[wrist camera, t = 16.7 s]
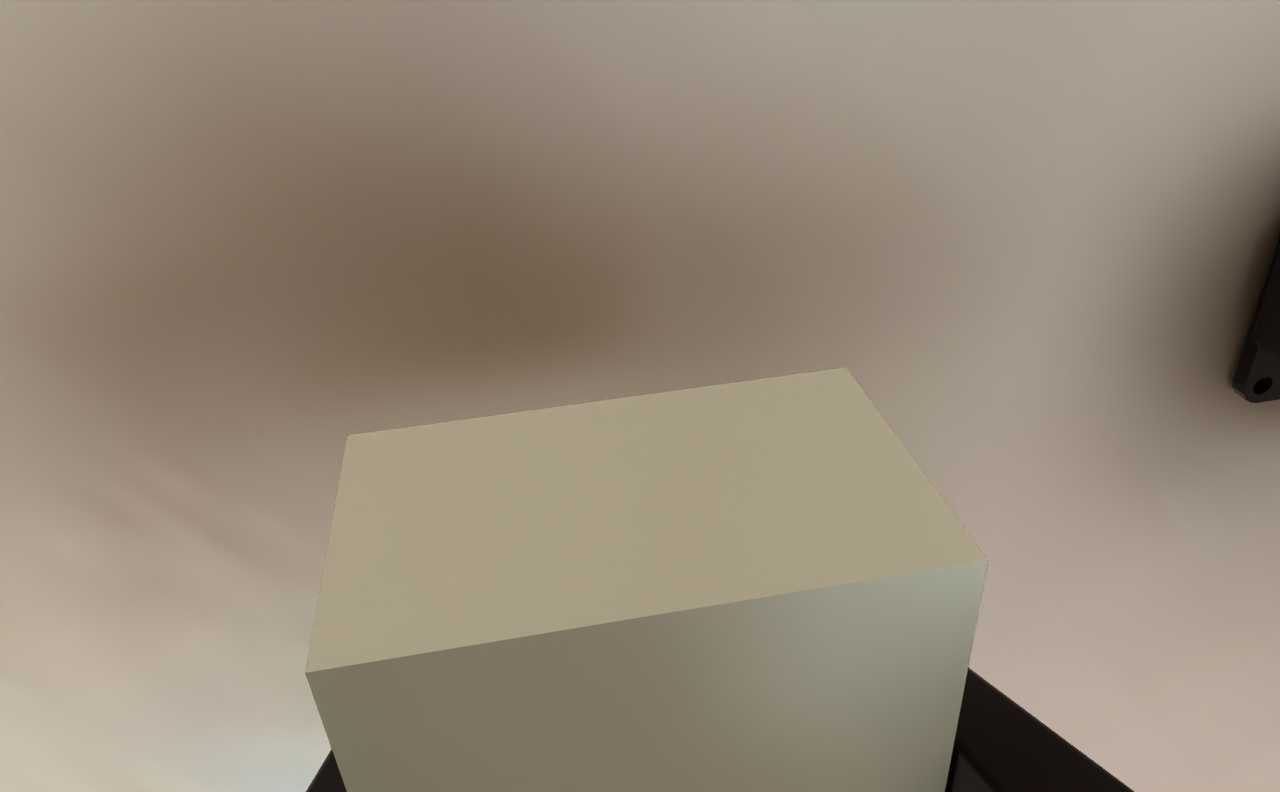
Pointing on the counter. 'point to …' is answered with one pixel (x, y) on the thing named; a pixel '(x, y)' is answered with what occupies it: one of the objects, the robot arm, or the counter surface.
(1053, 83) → the counter surface
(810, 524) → the pale green carton
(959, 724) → the robot arm
